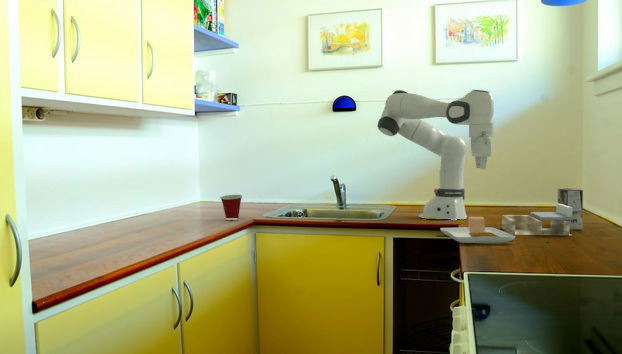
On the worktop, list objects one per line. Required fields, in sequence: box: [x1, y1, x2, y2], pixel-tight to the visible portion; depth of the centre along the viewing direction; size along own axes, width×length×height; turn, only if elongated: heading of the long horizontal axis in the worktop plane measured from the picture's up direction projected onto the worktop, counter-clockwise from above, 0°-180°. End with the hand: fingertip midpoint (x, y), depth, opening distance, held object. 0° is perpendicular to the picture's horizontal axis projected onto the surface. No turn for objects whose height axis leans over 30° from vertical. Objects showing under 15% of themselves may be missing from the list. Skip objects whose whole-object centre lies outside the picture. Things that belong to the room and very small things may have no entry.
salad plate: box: [439, 226, 516, 244], centre depth 178 cm, size 21×21×3 cm
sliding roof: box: [529, 203, 573, 221], centre depth 185 cm, size 11×14×4 cm
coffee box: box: [557, 188, 584, 230], centre depth 199 cm, size 9×6×16 cm
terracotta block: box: [468, 216, 486, 234], centre depth 178 cm, size 5×5×5 cm
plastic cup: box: [219, 194, 243, 219], centre depth 237 cm, size 11×11×12 cm
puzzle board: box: [501, 214, 572, 236], centre depth 186 cm, size 22×14×6 cm
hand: (480, 168), depth 185 cm, fingers open, 8 cm apart
